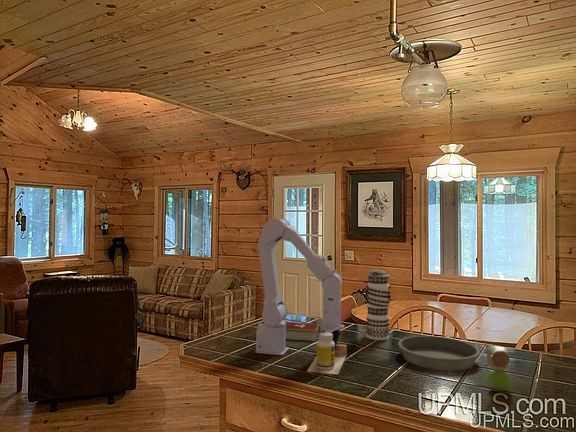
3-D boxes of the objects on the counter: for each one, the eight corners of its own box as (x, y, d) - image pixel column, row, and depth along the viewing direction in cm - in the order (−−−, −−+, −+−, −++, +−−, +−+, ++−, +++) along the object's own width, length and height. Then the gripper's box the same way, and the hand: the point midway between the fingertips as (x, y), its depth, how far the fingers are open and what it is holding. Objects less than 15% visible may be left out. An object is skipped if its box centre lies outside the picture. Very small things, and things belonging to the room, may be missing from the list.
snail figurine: (480, 386, 115) (480, 341, 115) (503, 386, 116) (503, 341, 116) (491, 395, 110) (491, 347, 110) (515, 394, 110) (515, 347, 111)
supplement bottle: (333, 370, 125) (334, 336, 125) (315, 369, 126) (315, 335, 126) (335, 364, 131) (335, 332, 131) (317, 363, 132) (317, 331, 132)
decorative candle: (371, 332, 170) (372, 268, 171) (393, 336, 165) (394, 270, 165) (360, 337, 163) (361, 270, 163) (384, 341, 157) (384, 272, 158)
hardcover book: (267, 330, 173) (267, 319, 173) (320, 334, 169) (320, 323, 169) (259, 338, 161) (259, 327, 161) (315, 342, 157) (316, 330, 157)
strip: (306, 371, 125) (307, 360, 125) (319, 351, 144) (319, 342, 144) (338, 375, 123) (338, 363, 123) (346, 354, 142) (346, 344, 142)
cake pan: (383, 359, 138) (383, 345, 138) (419, 344, 156) (419, 331, 156) (461, 379, 121) (461, 363, 121) (491, 360, 139) (491, 346, 139)
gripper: (341, 316, 131) (340, 361, 131) (347, 307, 145) (346, 348, 145) (318, 315, 133) (317, 359, 133) (326, 306, 147) (325, 346, 147)
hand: (331, 353), depth 139 cm, fingers closed
